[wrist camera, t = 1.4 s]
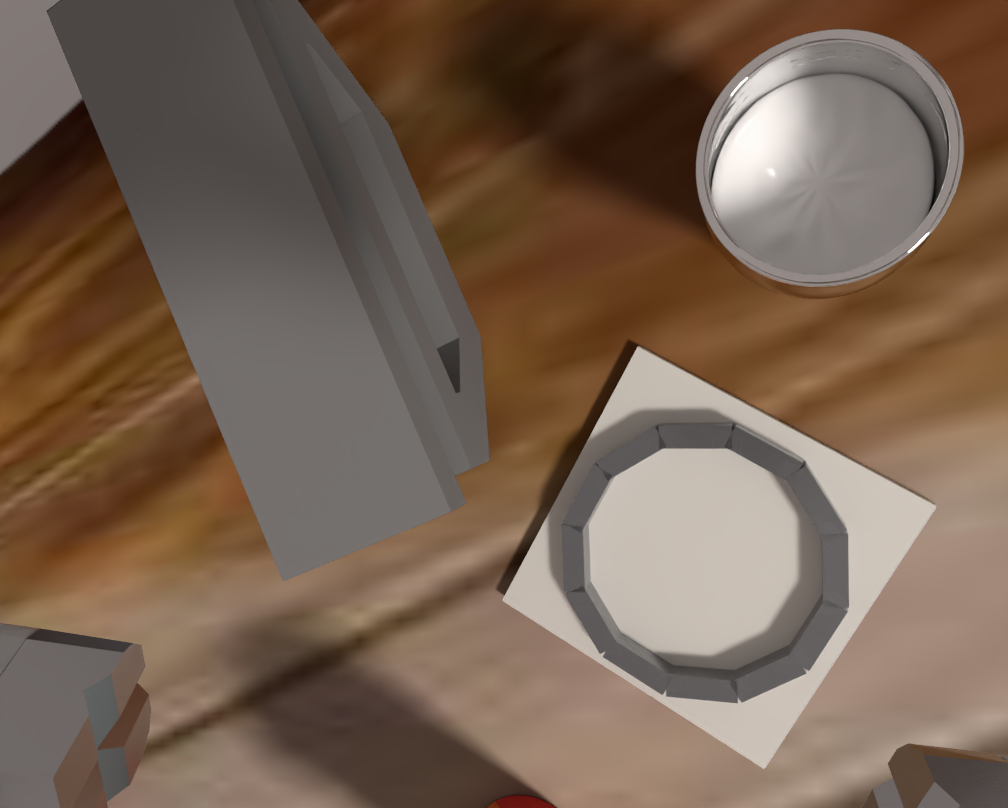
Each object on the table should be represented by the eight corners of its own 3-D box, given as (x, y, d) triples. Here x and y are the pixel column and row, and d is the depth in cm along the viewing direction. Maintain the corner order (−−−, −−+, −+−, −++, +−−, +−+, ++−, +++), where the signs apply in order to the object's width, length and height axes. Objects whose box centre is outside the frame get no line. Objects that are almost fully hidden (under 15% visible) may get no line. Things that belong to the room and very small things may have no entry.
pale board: (640, 346, 39) (637, 346, 38) (934, 503, 36) (936, 506, 35) (506, 596, 42) (502, 600, 42) (764, 762, 39) (764, 769, 38)
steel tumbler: (714, 293, 38) (667, 276, 24) (743, 132, 37) (711, 13, 23) (883, 317, 36) (941, 313, 22) (918, 146, 35) (1003, 25, 21)
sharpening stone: (217, 82, 45) (46, 11, 35) (335, 1, 42) (189, -102, 32) (402, 520, 44) (283, 581, 34) (536, 464, 41) (451, 511, 31)
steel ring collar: (645, 373, 38) (641, 374, 37) (904, 513, 36) (907, 519, 34) (525, 595, 41) (518, 603, 40) (756, 741, 38) (755, 754, 37)
